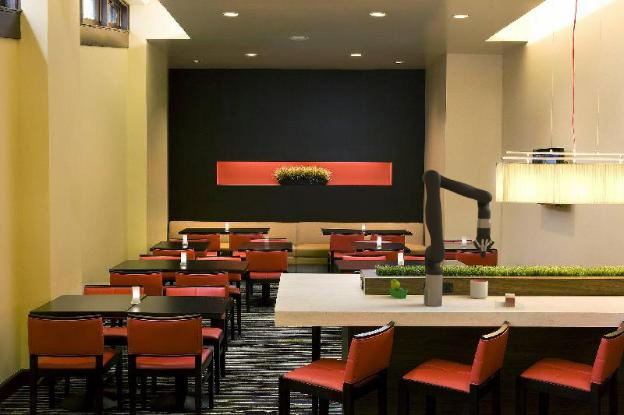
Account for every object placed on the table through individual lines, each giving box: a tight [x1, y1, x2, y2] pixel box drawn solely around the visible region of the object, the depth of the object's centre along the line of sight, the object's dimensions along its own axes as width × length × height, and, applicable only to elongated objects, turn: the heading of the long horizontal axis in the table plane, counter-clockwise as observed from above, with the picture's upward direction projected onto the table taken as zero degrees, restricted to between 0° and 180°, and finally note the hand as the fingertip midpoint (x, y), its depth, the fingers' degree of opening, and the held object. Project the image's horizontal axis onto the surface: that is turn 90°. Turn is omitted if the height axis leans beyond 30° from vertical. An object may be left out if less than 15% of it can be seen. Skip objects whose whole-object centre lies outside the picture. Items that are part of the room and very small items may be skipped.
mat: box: [494, 300, 526, 311], centre depth 454 cm, size 24×16×1 cm, turn 168°
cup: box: [469, 279, 489, 300], centre depth 482 cm, size 10×10×10 cm
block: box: [504, 293, 516, 307], centre depth 456 cm, size 5×5×15 cm
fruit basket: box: [388, 278, 409, 300], centre depth 478 cm, size 11×9×11 cm
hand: (482, 257), depth 453 cm, fingers closed
